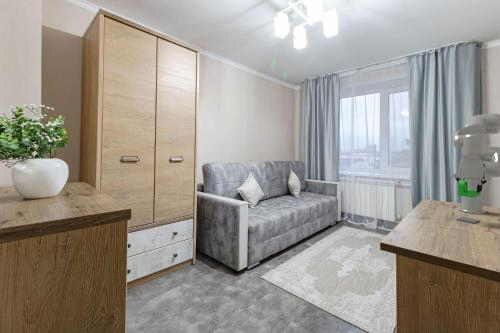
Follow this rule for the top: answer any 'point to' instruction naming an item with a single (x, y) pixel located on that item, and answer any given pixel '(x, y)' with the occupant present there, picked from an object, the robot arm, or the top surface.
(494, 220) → the top surface
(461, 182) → the mechanical part
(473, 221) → the dark rubber pad
